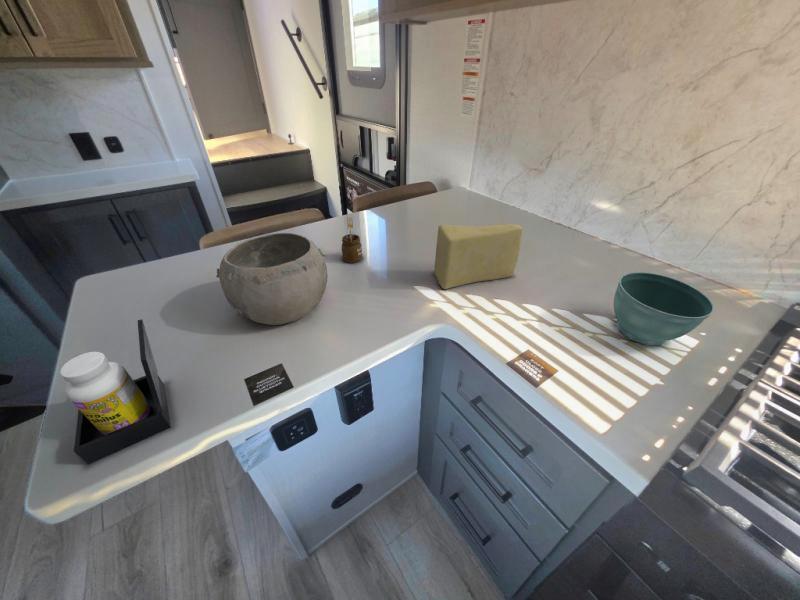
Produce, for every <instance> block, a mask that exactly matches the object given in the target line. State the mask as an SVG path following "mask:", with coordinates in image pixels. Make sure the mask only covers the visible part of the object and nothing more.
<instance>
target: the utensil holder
mask: <svg viewBox="0 0 800 600" xmlns="http://www.w3.org/2000/svg"><path fill="white" fill-rule="evenodd" d="M346 223H347V227H346V229H348V230H349V233H347V234H345V235H343V236H342V238H341V255H342V260H343V261H344V262H346V263H349V264H355V263H359V262H361V260H362V259H363V248H362V247H363V246H362V242H361V237H360V236H359V235H358V234H355V233H354V229H353V228H354V221H353V216H347V217H346Z"/></svg>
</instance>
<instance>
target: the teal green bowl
mask: <svg viewBox="0 0 800 600" xmlns="http://www.w3.org/2000/svg"><path fill="white" fill-rule="evenodd" d="M613 311H614V315H615V318H616V327H617V329H618V330H619V332H620V333H622V334H623V335H624V336H626V338H629V340H630V339H631V340H632V341H634V342H637V343H639V344H643V345H646V346H660V345H662V344H664V343H665V342H668V341H673V340H675V339H676V340H677V339H679V338H681V337H683V336H685V335H687V334H689V333H690V332H692V331H694V330H695V329H696V328H697V327H699V326H700V325H701V324H702V323H703V322H704V321H705V320H706V319H708V318H709V317H710V316H711V315H712V314H713V313H714V311H715V307H714V303H713V302H712V300H711V299H710V298H709V297H708V295H706V294H705V293H703V292H702V291H700V290H699V289H697V288H695V287H694V286H692V285H690V284H688V283H686V282H684V281H681V280H679V279H677V278H673V277H671V276H666V275H663V274H658V273H654V272H646V271H633V272H628V273H625V274H623V275H622V276H621V277H620V279H618V283H617V288H616V289H615V292H614V297H613Z"/></svg>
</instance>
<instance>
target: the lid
mask: <svg viewBox="0 0 800 600" xmlns="http://www.w3.org/2000/svg"><path fill="white" fill-rule="evenodd" d="M143 320H144V319H137V331H138V344H139V354H140V355H139V357H140V362H141V366H142V369H143V372H144V376H146V378H147V381H148V384H149V387H150V390H151V393H152V397H153V400H154V403H155V406H156V409H157V412H158V413H160V412H163V410H162V403H161V395H160V387H159V380H158V376H159V373H158V372H159V371H158V367H157V365H156V361H155V357H154V355H153V351H152V348H151V344H150V341H149V337H148V334H147V331H146V328H145V324H144V321H143Z"/></svg>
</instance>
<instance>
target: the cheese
mask: <svg viewBox="0 0 800 600" xmlns="http://www.w3.org/2000/svg"><path fill="white" fill-rule="evenodd" d="M522 237H523V228H522V226H521V225H519V224H513V223H509V224H507V223H506V224H495V225H494V224H493V225H492V224H491V225H455V224H439V225H438V227H437V236H436V247H435V259H434V271H433V273H434V276H435V278H436V280H437V282H438V284H439V286H440V287H441V289H443V290H447V289H453V288H457V287H459V286H464V285H468V284H473V283H478V282H486V281H494V280H500V279H504V278H505V279H506V278H511V277H513V275H514V273H515V269H516V266H517V264H518V260H519V256H520V250H521V244H522Z"/></svg>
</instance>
